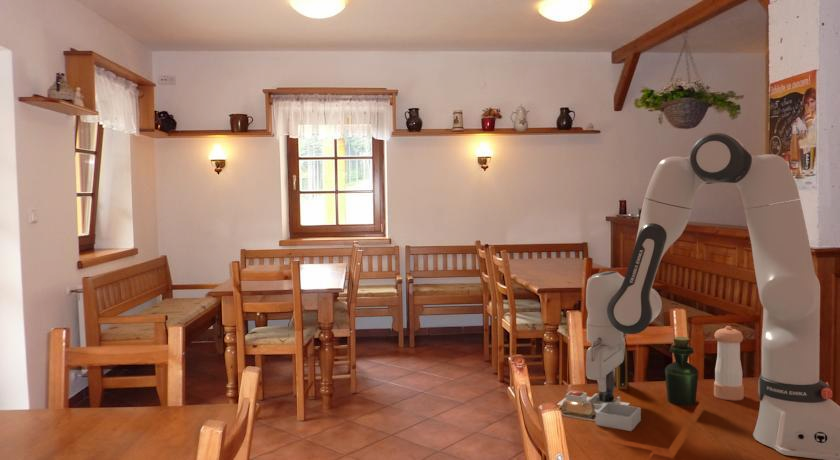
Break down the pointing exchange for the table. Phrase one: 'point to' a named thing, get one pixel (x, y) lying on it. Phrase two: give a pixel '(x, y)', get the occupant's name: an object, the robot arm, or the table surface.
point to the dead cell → (608, 389)
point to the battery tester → (590, 400)
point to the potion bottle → (681, 375)
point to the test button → (576, 393)
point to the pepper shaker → (728, 365)
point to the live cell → (578, 409)
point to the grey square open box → (618, 416)
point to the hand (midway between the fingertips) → (606, 388)
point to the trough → (578, 416)
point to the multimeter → (622, 372)
